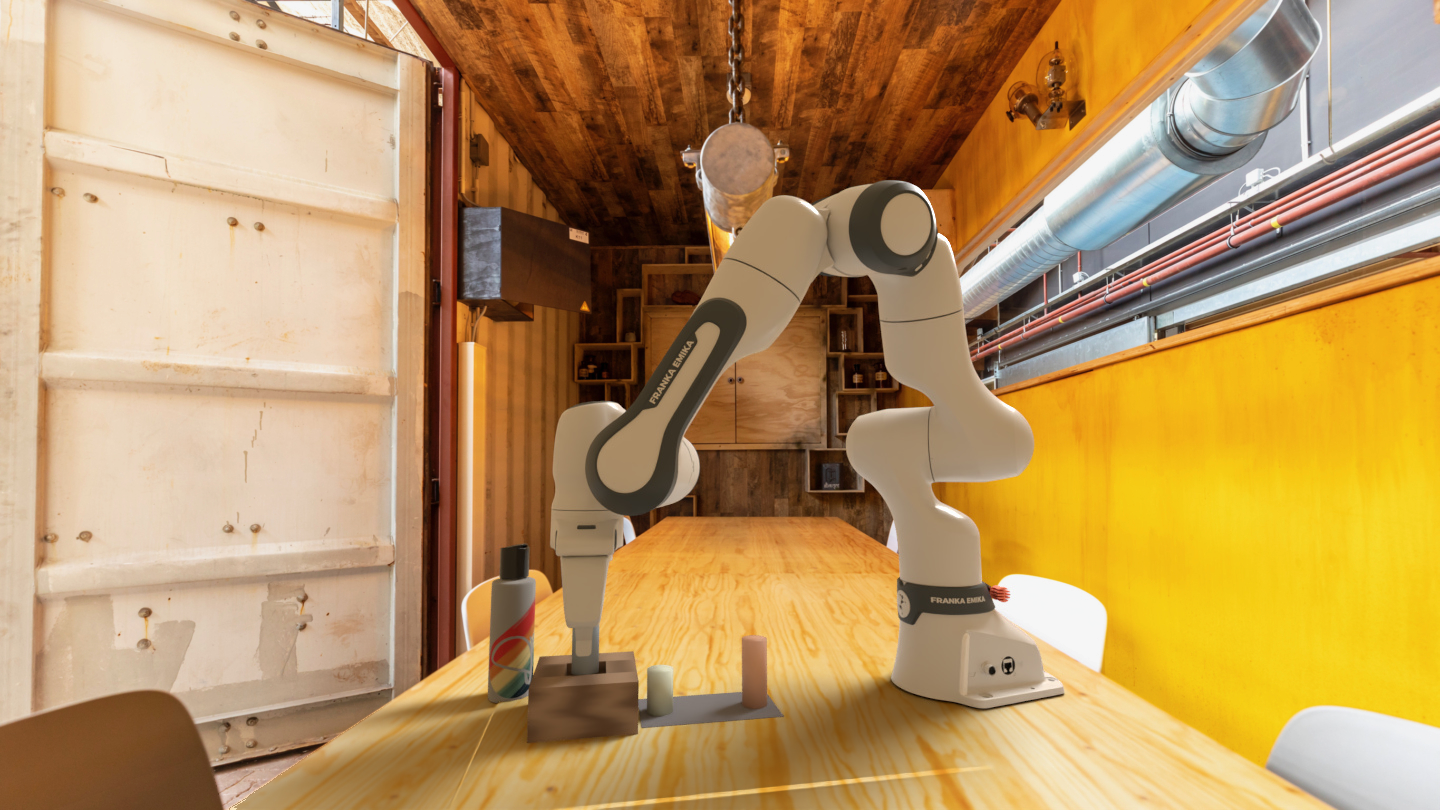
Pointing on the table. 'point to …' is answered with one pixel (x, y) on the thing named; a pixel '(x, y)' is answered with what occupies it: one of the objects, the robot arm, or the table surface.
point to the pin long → (586, 663)
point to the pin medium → (754, 671)
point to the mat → (707, 710)
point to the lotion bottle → (512, 627)
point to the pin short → (660, 690)
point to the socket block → (583, 699)
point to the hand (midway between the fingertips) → (584, 648)
